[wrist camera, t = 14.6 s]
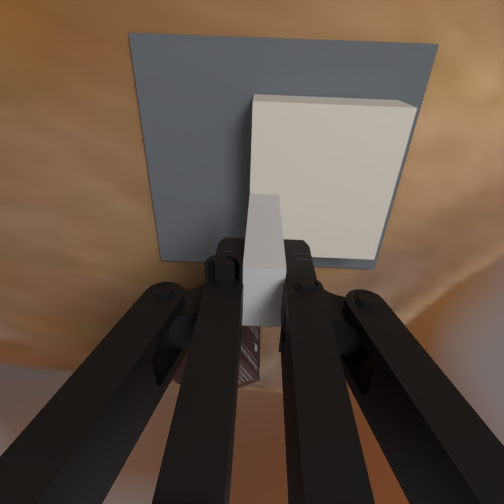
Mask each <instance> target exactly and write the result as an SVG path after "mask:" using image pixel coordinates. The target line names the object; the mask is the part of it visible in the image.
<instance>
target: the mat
mask: <svg viewBox="0 0 504 504" xmlns="http://www.w3.org/2000/svg"><path fill="white" fill-rule="evenodd" d="M128 34H129V41H130V48H131V55H132V61H133V68H134V75H135V82H136V89H137V96H138V103H139V110H140V117H141V124H142V131H143V138H144V144H145V151H146V158H147V165H148V172H149V179H150V186H151V193H152V200H153V207H154V214H155V221H156V228H157V234H158V241H159V248H160V255H161V261H184V262H205V261H206V260H207V259H208V258H209V257H211V256H213V255H216V251H217V246H218V243H219V242H220V241H221V240H222V239H223V238H224V237H226V238H246V228H247V217H248V207H249V197H250V170H251V138H252V106H253V97H254V94H262V95H287V96H312V97H337V98H362V99H387V100H399V101H402V102H404V103H407V104H409V105H412V106H414V107H416V108H417V111H416V114H415V118H414V121H413V125H412V128H411V132H410V135H409V139H408V142H407V146H406V150H405V153H404V157H403V160H402V164H401V167H400V171H399V174H398V178H397V181H396V185H395V188H394V192H393V195H392V199H391V202H390V206H389V209H388V213H387V217H386V220H385V224H384V227H383V231H382V234H381V238H380V241H379V245H378V248H377V252H376V255H375V259H374V260H369V259H346V258H323V257H312V260H313V265H314V267H330V268H354V269H375V265H376V262H377V258H378V255H379V251H380V248H381V244H382V241H383V237H384V234H385V230H386V227H387V223H388V220H389V216H390V213H391V209H392V206H393V202H394V199H395V195H396V192H397V188H398V185H399V181H400V178H401V174H402V171H403V167H404V164H405V160H406V157H407V153H408V150H409V146H410V143H411V139H412V136H413V132H414V129H415V125H416V122H417V118H418V115H419V111H420V108H421V104H422V101H423V97H424V94H425V90H426V87H427V83H428V80H429V76H430V73H431V69H432V66H433V62H434V59H435V55H436V52H437V48H438V45H439V44H421V43H393V42H366V41H338V40H310V39H282V38H254V37H226V36H199V35H171V34H143V33H128Z"/></svg>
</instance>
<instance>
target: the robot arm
mask: <svg viewBox="0 0 504 504" xmlns="http://www.w3.org/2000/svg"><path fill="white" fill-rule="evenodd" d="M205 280H206V282H205V284H204V285H203V286H200V287H198V288H195V289H190V290H185V291H183V288H182V287H181V286H180V285H179V284H176V283H173V282H161V283H157V284H155V285H152V286H151V287H149V288H148V289H147V290H146V291H145V292H144V293H143V294H142V295H141V296H140V298H139V299H138V300H137V301H136V302H135V303H134V304H133V306H132V307H131V308H130V309H129V310H128V311H127V312H126V314H125V315H124V316H123V317H122V318H121V319H120V320H119V322H118V323H117V324H116V325H115V326H114V327H113V329H112V330H111V331H110V332H109V333H108V334H107V335H106V337H105V338H104V339H103V340H102V341H101V342H100V343H99V345H98V346H97V347H96V348H95V349H94V350H93V351H92V353H91V354H90V355H89V356H88V357H87V358H86V359H85V361H84V362H83V363H82V364H81V365H80V366H79V367H78V369H77V370H76V371H75V372H74V373H73V374H72V375H71V377H70V378H69V379H68V380H67V381H66V382H65V383H64V385H63V386H62V387H61V388H60V389H59V390H58V391H57V393H56V394H55V395H54V396H53V397H52V398H51V399H50V401H49V402H48V403H47V404H46V405H45V407H43V409H42V410H41V411H40V412H39V413H38V414H37V416H36V417H35V418H34V419H33V420H32V421H31V423H30V424H29V425H28V426H27V427H26V428H25V429H24V430H23V431H22V433H21V434H20V435H19V436H18V437H17V438H16V439H15V441H14V442H13V443H12V444H11V445H10V446H9V447H8V449H7V450H6V451H5V452H4V453H3V454H2V455H1V457H0V504H102V503H103V501H104V499H105V498H106V496H107V494H108V492H109V490H110V489H111V487H112V485H113V483H114V482H115V480H116V478H117V476H118V474H119V473H120V471H121V469H122V467H123V465H124V464H125V462H126V460H127V458H128V456H129V455H130V453H131V451H132V449H133V448H134V446H135V444H136V442H137V441H138V439H139V437H140V435H141V433H142V431H143V430H144V428H145V426H146V425H147V423H148V421H149V419H150V417H151V416H152V413H153V412H154V410H155V409H156V407H157V405H158V403H159V401H160V400H161V398H162V396H163V394H164V392H165V391H166V389H167V387H168V385H169V384H170V382H171V380H172V378H173V376H174V375H175V373H176V371H177V369H178V368H179V366H180V364H181V362H182V360H183V359H184V357H185V355H186V353H187V352H188V348H189V347H190V348H189V353H188V357H187V361H186V365H185V369H184V373H183V377H182V381H181V386H180V390H179V394H178V398H177V403H176V406H175V410H174V414H173V419H172V423H171V427H170V431H169V435H168V439H167V444H166V448H165V452H164V456H163V460H162V464H161V468H160V472H159V476H158V480H157V485H156V489H155V493H154V497H153V501H152V504H229V500H230V499H229V498H230V486H231V485H230V484H231V472H232V459H233V446H234V432H235V418H236V405H237V392H238V378H239V365H240V351H241V338H242V325H245V326H267V327H280V325H281V334H280V343H279V352H281V364H282V384H283V404H284V422H285V444H286V463H287V483H288V503H289V504H375V502H374V498H373V493H372V489H371V485H370V481H369V477H368V473H367V468H366V465H365V460H364V456H363V452H362V447H361V443H360V439H359V435H358V431H357V427H356V422H355V419H354V415H353V410H352V405H351V401H350V398H349V393H348V389H347V384H346V381H347V383H348V385H349V387H350V389H351V391H352V393H353V395H354V397H355V398H356V401H357V403H358V405H359V407H360V408H361V410H362V412H363V414H364V416H365V418H366V420H367V422H368V424H369V426H370V428H371V430H372V432H373V434H374V436H375V438H376V440H377V441H378V443H379V445H380V447H381V449H382V451H383V453H384V455H385V457H386V459H387V461H388V463H389V465H390V467H391V468H392V471H393V473H394V474H395V476H396V478H397V480H398V482H399V484H400V486H401V488H402V490H403V492H404V494H405V496H406V498H407V500H408V502H409V503H410V504H504V446H503V445H502V443H501V442H500V441H499V440H498V439H497V437H496V436H495V435H494V434H493V433H492V431H491V430H490V429H489V428H488V426H487V425H486V424H485V423H484V422H483V420H482V419H481V418H480V417H479V415H478V414H477V413H476V412H475V410H474V409H473V408H472V407H471V406H470V405H469V403H468V402H467V401H466V400H465V398H464V397H463V396H462V395H461V393H460V392H459V391H458V390H457V389H456V387H455V386H454V385H453V384H452V382H451V381H450V380H449V379H448V378H447V376H446V375H445V374H444V373H443V372H442V370H441V369H440V368H439V367H438V365H437V364H436V363H435V362H434V361H433V359H432V358H431V357H430V356H429V354H428V353H427V352H426V351H425V350H424V348H423V347H422V346H421V345H420V344H419V342H418V341H417V340H416V339H415V337H414V336H413V335H412V334H411V333H410V331H409V330H408V329H407V328H406V326H405V325H404V324H403V323H402V322H401V320H400V319H399V318H398V317H397V315H396V314H395V313H394V312H393V311H392V309H391V308H390V307H389V306H388V305H387V303H386V302H385V301H384V300H383V299H382V298H381V297H380V296H379V295H377V294H375V293H373V292H371V291H367V290H357V289H356V290H353V291H350V292H349V293H348V294H347V295H346V297H342V296H338V295H335V294H332V293H329V292H327V291H326V290H324V288H323V286H322V284H321V282H319V281H318V280H317V278H316V274H315V269H314V265H313V260H312V256H311V251H310V247H309V245H308V244H307V243H306V242H305V241H304V240H291V239H283V229H282V219H281V209H280V199H279V195H274V194H250V197H249V207H248V217H247V228H246V238H226V237H224V238H223V239H222V240H221V241H220V242H219V243H218V246H217V251H216V255H213V256H211V257H209V258H208V259H207V260H206V261H205ZM345 379H346V380H345Z"/></svg>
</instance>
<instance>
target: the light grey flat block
mask: <svg viewBox="0 0 504 504" xmlns="http://www.w3.org/2000/svg"><path fill="white" fill-rule="evenodd" d="M416 111H417V108H416V107H414V106H412V105H409V104H407V103H404V102H402V101H399V100H387V99H362V98H337V97H312V96H287V95H262V94H254V97H253V106H252V138H251V170H250V194H274V195H279V199H280V209H281V219H282V229H283V239H291V240H304V241H305V242H306V243H307V244H308V245H309V247H310V251H311V256H312V257H323V258H346V259H369V260H374V259H375V255H376V252H377V248H378V245H379V241H380V238H381V234H382V231H383V227H384V224H385V220H386V217H387V213H388V209H389V206H390V202H391V199H392V195H393V192H394V188H395V185H396V181H397V178H398V174H399V171H400V167H401V164H402V160H403V157H404V153H405V150H406V146H407V142H408V139H409V135H410V132H411V128H412V125H413V121H414V118H415V114H416Z"/></svg>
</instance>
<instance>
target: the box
mask: <svg viewBox="0 0 504 504" xmlns="http://www.w3.org/2000/svg"><path fill="white" fill-rule="evenodd" d="M203 285H204V284H203ZM203 285H201V286H203ZM198 287H200V286H198ZM198 287H196V288H198ZM194 289H195V288H194ZM189 348H190V347H189ZM189 348H188V352H187V353H186V355H185V357H184V359H183V360H182V362H181V364H180V366H179V368H178V369H177V371H176V373H175V375H174V376H173V378H174V380H175V381H176V382H177V383H178V384H180V385H181V381H182V377H183V373H184V369H185V365H186V361H187V357H188V353H189ZM259 367H260V326H245V325H242V338H241V351H240V365H239V378H238V388H239V387H242V386H245V385H248V384H251V383H254V382H257V381H259V380H260V377H259Z"/></svg>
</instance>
